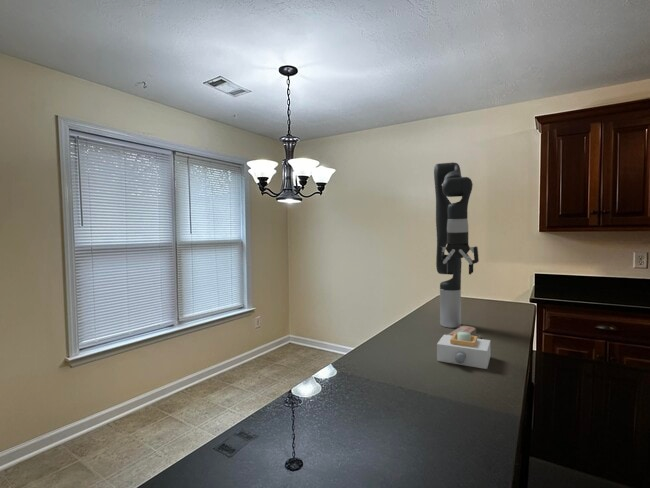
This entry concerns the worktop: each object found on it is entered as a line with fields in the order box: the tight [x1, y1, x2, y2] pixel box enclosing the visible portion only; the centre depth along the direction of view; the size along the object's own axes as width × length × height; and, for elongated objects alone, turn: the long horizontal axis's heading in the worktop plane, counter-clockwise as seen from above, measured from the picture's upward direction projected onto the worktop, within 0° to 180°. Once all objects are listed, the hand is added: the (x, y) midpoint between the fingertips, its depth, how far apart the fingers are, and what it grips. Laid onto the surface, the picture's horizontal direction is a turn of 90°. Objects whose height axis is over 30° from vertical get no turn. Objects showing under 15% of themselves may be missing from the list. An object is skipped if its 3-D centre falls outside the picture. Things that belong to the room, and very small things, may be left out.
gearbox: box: [436, 333, 491, 370], centre depth 124 cm, size 15×16×8 cm
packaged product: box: [447, 325, 482, 339], centre depth 145 cm, size 18×5×10 cm
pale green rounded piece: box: [457, 332, 471, 342], centre depth 125 cm, size 4×4×9 cm
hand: (458, 273), depth 135 cm, fingers open, 8 cm apart
